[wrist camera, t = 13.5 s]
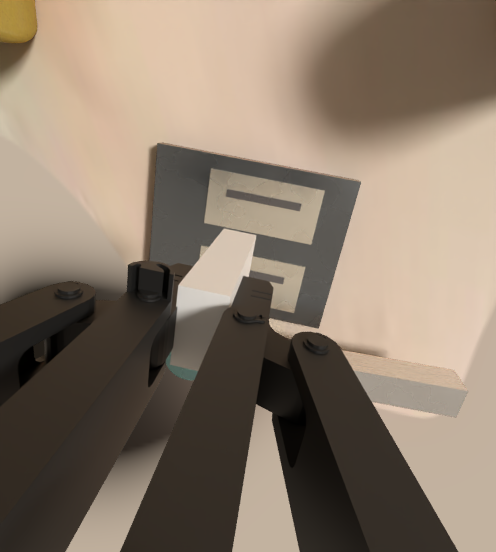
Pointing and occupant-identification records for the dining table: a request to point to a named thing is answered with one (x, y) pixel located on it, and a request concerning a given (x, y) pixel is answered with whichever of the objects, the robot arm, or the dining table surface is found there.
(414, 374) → the swing bar
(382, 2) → the dining table surface
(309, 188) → the label plate
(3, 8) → the flower pot
